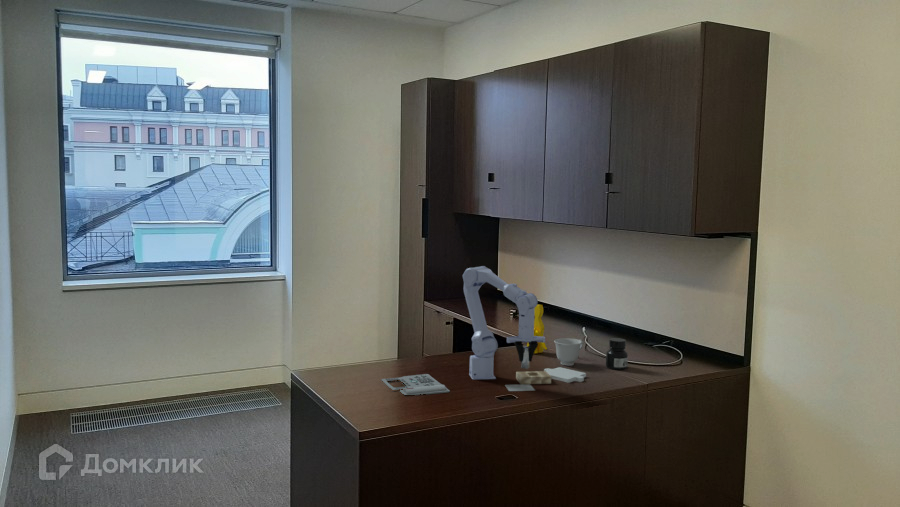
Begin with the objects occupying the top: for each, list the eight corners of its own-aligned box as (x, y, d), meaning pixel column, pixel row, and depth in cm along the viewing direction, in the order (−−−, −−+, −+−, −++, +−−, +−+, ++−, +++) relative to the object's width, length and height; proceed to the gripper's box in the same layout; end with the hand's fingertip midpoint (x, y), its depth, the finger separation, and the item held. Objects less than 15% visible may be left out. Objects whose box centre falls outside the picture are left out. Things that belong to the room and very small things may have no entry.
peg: (522, 368, 267) (522, 347, 266) (520, 366, 270) (521, 346, 269) (529, 368, 267) (530, 347, 267) (528, 366, 270) (528, 346, 270)
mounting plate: (591, 379, 283) (591, 374, 283) (573, 385, 273) (573, 380, 273) (554, 370, 295) (554, 365, 295) (535, 376, 286) (535, 371, 286)
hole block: (520, 384, 272) (520, 377, 271) (515, 379, 279) (516, 371, 279) (551, 384, 273) (551, 376, 273) (545, 378, 281) (545, 371, 281)
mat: (509, 391, 262) (509, 391, 262) (504, 385, 270) (504, 384, 270) (535, 391, 264) (535, 390, 264) (529, 385, 272) (530, 384, 272)
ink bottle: (618, 371, 293) (619, 343, 292) (600, 367, 300) (602, 339, 299) (631, 367, 300) (633, 340, 299) (614, 363, 306) (615, 336, 305)
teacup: (592, 364, 304) (592, 341, 303) (566, 369, 296) (567, 345, 295) (572, 358, 314) (572, 336, 313) (547, 362, 306) (548, 340, 305)
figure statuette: (514, 350, 328) (515, 303, 326) (525, 347, 333) (526, 301, 331) (543, 357, 315) (545, 308, 313) (555, 354, 320) (556, 306, 318)
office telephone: (450, 387, 261) (399, 392, 253) (450, 394, 261) (399, 399, 253) (428, 370, 282) (379, 374, 274) (428, 376, 282) (379, 381, 274)
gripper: (509, 328, 262) (508, 363, 264) (547, 327, 264) (546, 363, 266) (505, 324, 269) (504, 359, 271) (543, 324, 271) (541, 358, 273)
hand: (525, 361), depth 269 cm, fingers closed on peg, 3 cm apart
